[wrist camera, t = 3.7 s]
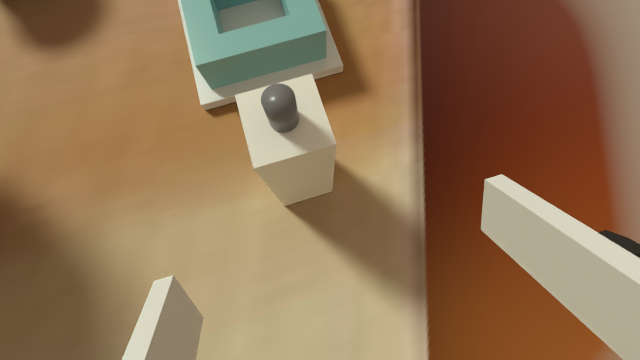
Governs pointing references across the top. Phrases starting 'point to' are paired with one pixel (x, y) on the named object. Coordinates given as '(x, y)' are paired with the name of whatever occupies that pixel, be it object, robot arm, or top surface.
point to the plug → (289, 138)
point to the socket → (255, 45)
